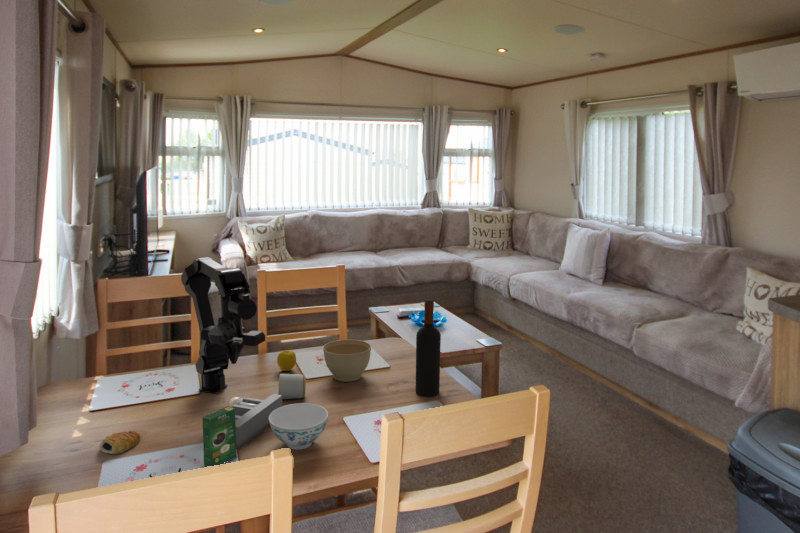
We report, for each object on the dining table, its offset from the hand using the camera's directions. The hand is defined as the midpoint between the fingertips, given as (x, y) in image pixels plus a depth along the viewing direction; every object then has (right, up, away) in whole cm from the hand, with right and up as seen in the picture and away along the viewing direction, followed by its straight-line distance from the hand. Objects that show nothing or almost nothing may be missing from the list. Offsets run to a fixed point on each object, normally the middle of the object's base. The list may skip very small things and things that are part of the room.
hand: (233, 363), depth 167 cm
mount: (+7, -16, -12) cm, 21 cm away
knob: (+5, -14, -6) cm, 16 cm away
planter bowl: (+31, -9, +25) cm, 41 cm away
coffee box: (+6, -19, -30) cm, 36 cm away
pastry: (-22, -18, -22) cm, 36 cm away
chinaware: (+23, -17, -20) cm, 35 cm away
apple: (+10, -8, +30) cm, 33 cm away
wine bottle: (+58, -12, +13) cm, 60 cm away
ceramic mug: (+15, -12, +10) cm, 22 cm away
